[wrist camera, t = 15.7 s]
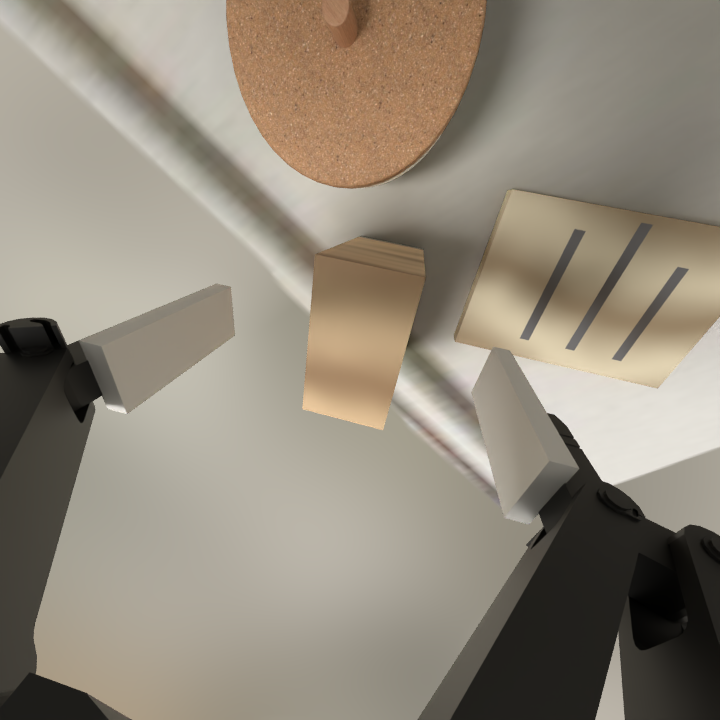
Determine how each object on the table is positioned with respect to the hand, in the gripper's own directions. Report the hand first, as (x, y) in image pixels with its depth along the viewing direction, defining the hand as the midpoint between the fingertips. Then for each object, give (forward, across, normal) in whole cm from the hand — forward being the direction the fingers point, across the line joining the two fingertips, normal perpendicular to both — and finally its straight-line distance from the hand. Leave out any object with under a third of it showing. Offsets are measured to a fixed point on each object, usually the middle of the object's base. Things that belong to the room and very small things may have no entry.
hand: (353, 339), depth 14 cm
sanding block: (+11, 0, -1) cm, 11 cm away
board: (+11, +15, +2) cm, 19 cm away
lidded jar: (+12, -3, +11) cm, 17 cm away
